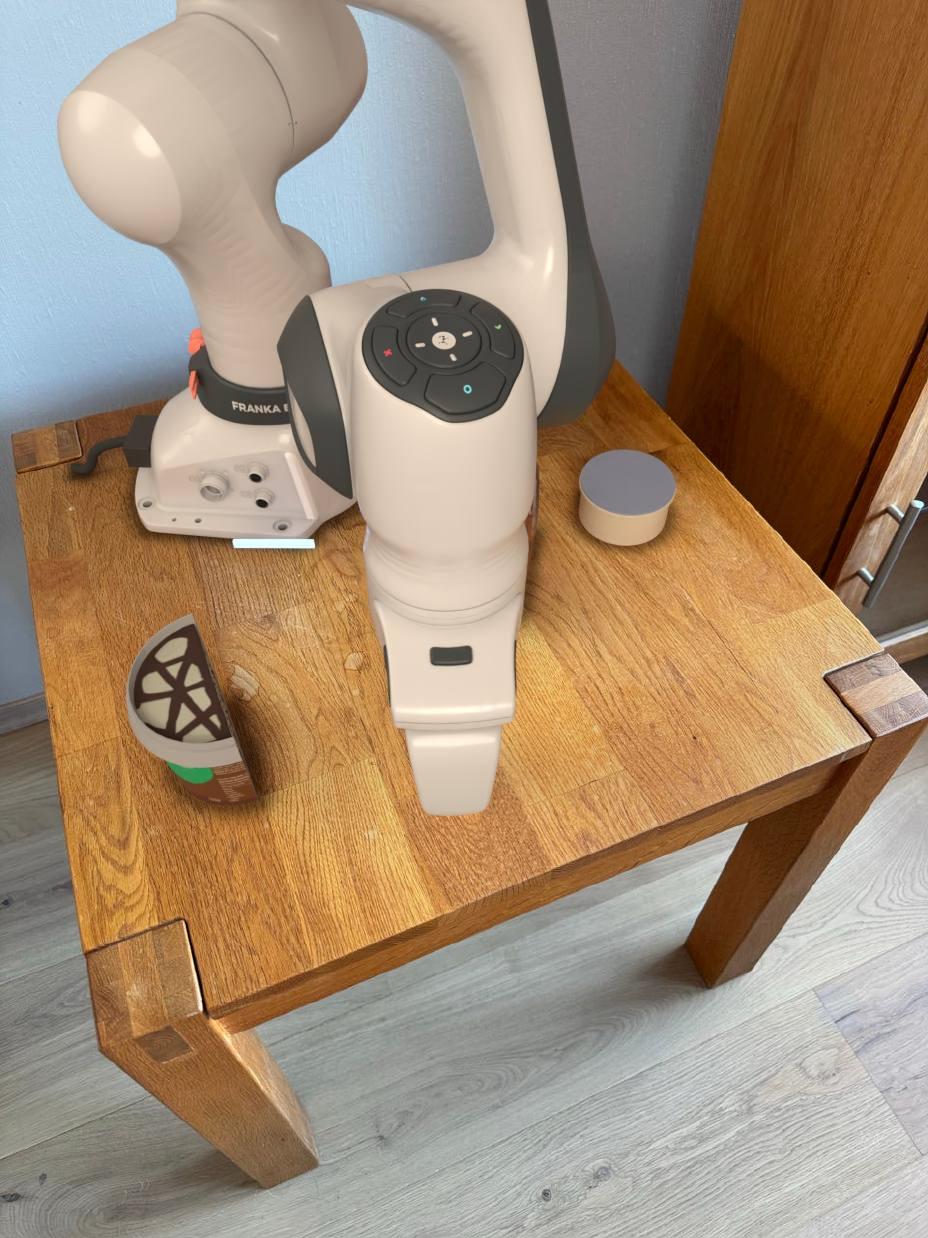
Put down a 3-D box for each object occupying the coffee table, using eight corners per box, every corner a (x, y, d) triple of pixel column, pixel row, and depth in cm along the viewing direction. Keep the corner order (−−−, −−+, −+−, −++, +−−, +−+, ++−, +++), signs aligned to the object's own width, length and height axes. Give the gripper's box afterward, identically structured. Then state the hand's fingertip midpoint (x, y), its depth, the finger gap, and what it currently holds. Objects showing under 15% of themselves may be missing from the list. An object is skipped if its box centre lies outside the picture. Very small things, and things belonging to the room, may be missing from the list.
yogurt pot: (582, 551, 82) (587, 517, 78) (569, 485, 87) (572, 451, 84) (678, 545, 82) (686, 511, 79) (658, 480, 87) (665, 446, 84)
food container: (143, 714, 71) (103, 635, 64) (221, 687, 73) (190, 607, 65) (179, 849, 64) (138, 779, 56) (264, 816, 66) (235, 744, 58)
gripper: (388, 458, 57) (398, 598, 68) (391, 742, 45) (403, 858, 56) (488, 454, 57) (483, 594, 68) (519, 736, 45) (506, 853, 56)
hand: (447, 715), depth 62 cm, fingers closed on beverage can, 5 cm apart
